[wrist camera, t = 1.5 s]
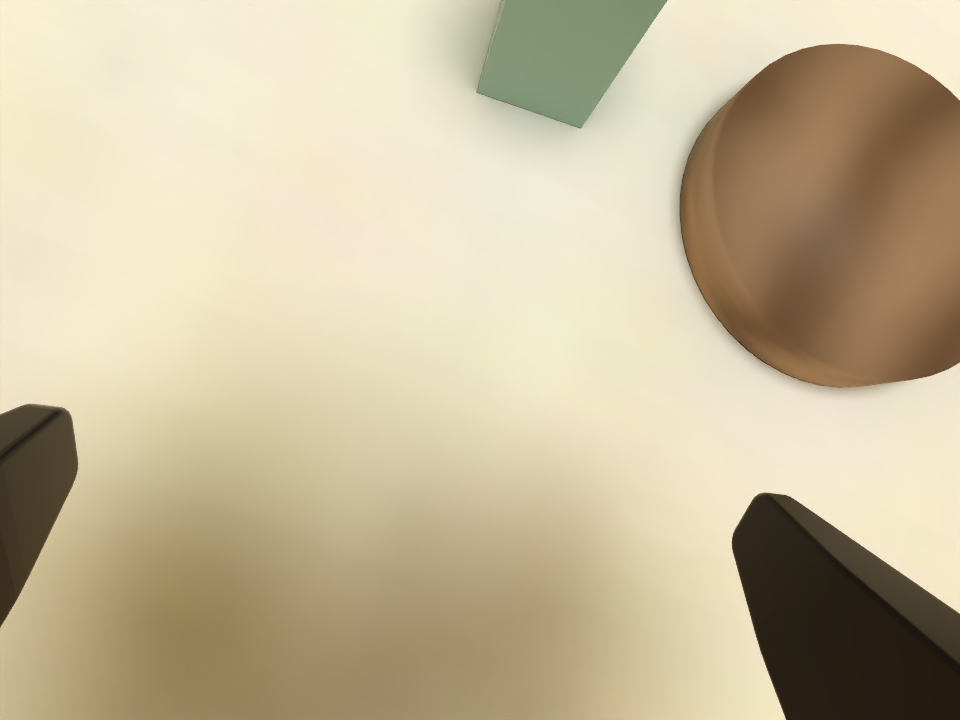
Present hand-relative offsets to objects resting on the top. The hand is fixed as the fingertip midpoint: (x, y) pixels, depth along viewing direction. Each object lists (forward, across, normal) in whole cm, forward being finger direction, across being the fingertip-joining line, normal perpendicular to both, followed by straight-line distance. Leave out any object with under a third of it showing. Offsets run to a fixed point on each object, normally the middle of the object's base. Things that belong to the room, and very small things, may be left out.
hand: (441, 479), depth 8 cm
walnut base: (+18, -17, -1) cm, 25 cm away
